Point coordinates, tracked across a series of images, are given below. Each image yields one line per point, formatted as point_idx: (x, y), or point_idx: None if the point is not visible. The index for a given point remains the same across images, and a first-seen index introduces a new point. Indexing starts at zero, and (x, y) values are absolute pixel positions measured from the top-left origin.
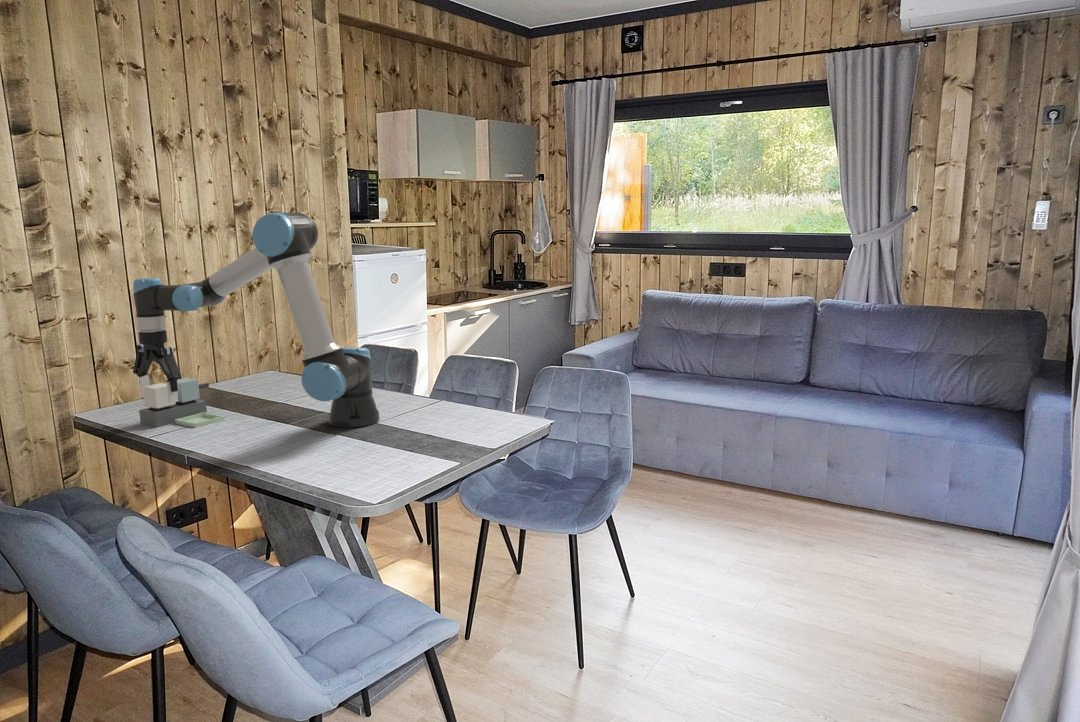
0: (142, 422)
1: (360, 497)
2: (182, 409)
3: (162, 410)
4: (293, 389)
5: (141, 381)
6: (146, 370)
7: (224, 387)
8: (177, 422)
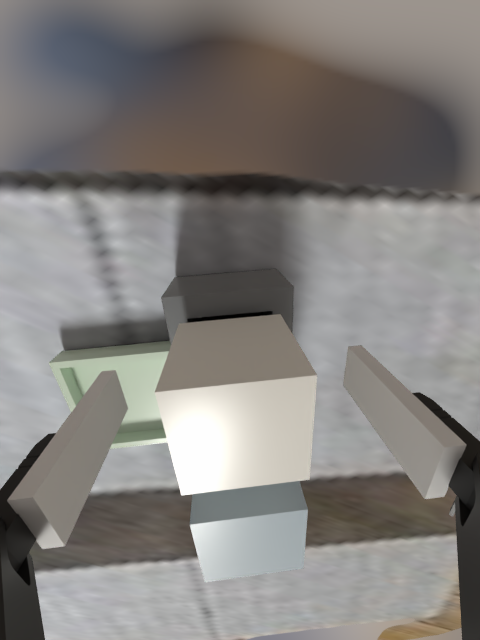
0: (266, 273)
1: None
2: None
3: None
4: (270, 597)
5: (413, 420)
6: (464, 551)
7: (424, 547)
8: (162, 347)
